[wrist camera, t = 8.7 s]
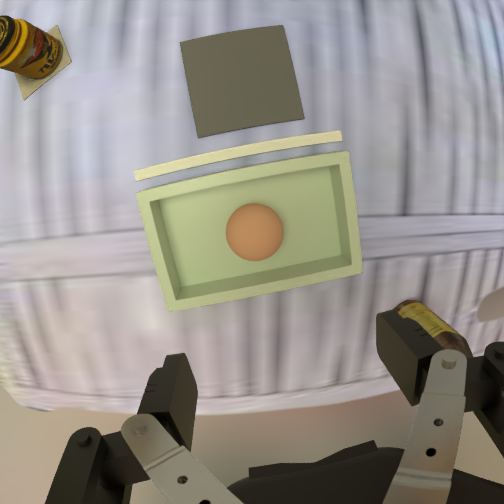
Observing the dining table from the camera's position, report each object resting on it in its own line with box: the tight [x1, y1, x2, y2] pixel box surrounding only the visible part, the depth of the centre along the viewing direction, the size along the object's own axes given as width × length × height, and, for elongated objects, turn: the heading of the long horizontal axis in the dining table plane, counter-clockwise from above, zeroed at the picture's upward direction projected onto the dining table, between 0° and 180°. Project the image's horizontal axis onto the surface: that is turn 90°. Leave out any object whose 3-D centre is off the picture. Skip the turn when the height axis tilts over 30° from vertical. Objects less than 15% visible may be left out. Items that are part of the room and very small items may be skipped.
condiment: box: [0, 16, 71, 100], centre depth 24 cm, size 7×8×12 cm
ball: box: [226, 203, 284, 261], centre depth 34 cm, size 6×6×6 cm
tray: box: [136, 151, 363, 312], centre depth 35 cm, size 22×13×4 cm, turn 101°
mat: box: [180, 25, 304, 138], centre depth 32 cm, size 12×12×1 cm
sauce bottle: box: [395, 301, 473, 412], centre depth 32 cm, size 6×6×20 cm
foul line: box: [134, 131, 342, 181], centre depth 35 cm, size 24×1×1 cm, turn 101°
